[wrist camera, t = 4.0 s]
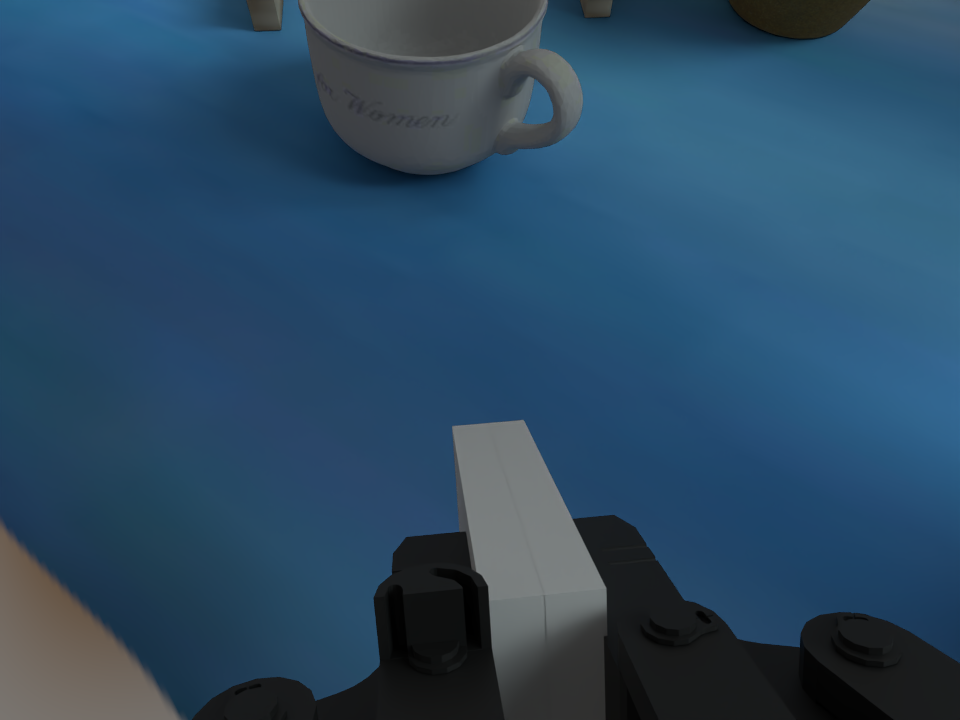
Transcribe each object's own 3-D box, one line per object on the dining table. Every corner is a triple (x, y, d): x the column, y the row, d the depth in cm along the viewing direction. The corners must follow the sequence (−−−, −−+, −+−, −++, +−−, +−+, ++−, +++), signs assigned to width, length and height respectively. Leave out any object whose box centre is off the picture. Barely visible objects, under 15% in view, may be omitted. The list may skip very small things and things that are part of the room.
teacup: (288, 115, 38) (249, -35, 31) (452, 41, 41) (450, -108, 35) (443, 283, 32) (438, 143, 25) (618, 180, 36) (655, 34, 29)
